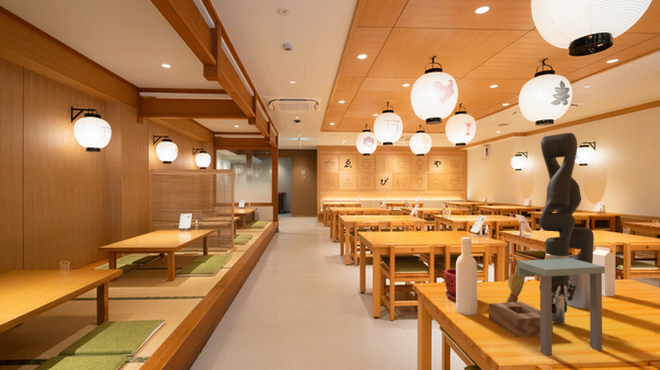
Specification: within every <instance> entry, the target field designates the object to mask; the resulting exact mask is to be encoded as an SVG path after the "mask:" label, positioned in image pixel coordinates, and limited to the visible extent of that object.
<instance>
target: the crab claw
mask: <svg viewBox="0 0 660 370" xmlns="http://www.w3.org/2000/svg"><path fill="white" fill-rule="evenodd" d="M514 263H515V265H514ZM508 275H509V276H508V278H507V281H508V282H507V283H508V287H509V289H510V292H509V296H508V297H507V298H506V299H507V300H506V301H505V302H518V301H519V295H520V294H521V292H522V290H523V288H524V287H523V286H525V285H524V284H525V278H526V276H517V261H516V260H514V261H511V262H510V266H509V274H508Z"/></svg>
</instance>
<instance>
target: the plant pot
mask: <svg viewBox="0 0 660 370" xmlns="http://www.w3.org/2000/svg"><path fill="white" fill-rule="evenodd" d="M444 284H445V288H446V291H445V296H446V297H447V298H449V299H450V300H451V299H452V301H455V302H456V268H449V269H445V270H444Z"/></svg>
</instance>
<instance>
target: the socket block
mask: <svg viewBox="0 0 660 370" xmlns="http://www.w3.org/2000/svg"><path fill="white" fill-rule="evenodd" d="M488 320H489V321H491V322H492V323H494V324H496V325H497V326H498V327H501V328H502V329H503V330H505V331H506V332H508V333H509V334H510V335H512V336H515V337H516V338H521V337H533V336H540V309H538V308H536V307H534V306H531V305H530V304H527V303H525V302H523V301H522V300H521V301H519V300H518V301H517V302H506V301H505V302H493V303H492V302H491V303H488ZM553 322H554V321H553V316H552V335H553V334H554V333H553V332H554V331H553V330H554V325H553V324H554V323H553Z"/></svg>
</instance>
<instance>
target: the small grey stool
mask: <svg viewBox="0 0 660 370" xmlns="http://www.w3.org/2000/svg"><path fill="white" fill-rule="evenodd" d="M516 262H517V276H525V277H531V276H539V286H540V288H539V296H540V297H539V299H540V300H539V310H540V335H539V337H540V346H539V347H540V353H541V354H542V355H544V356H546V357H548V356H553V337H552V336H553V334H552V284H551V276H563V275H581V274H590V309H589V325H590V327H589V330H590V332H589V339H590V341H589V347H590V348H591V347H592V348H591V349H593V348H594V349H593V350H595V349H596V350H595V351H597V350H598V351H602V350H603V296H602V273H605V267H604V266H600V265H596V264H592V263H588V262H584V261H580V260H576V259H572V258H570V259H548V260H545V259H531V260H530V259H528V260H517V261H516Z"/></svg>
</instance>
